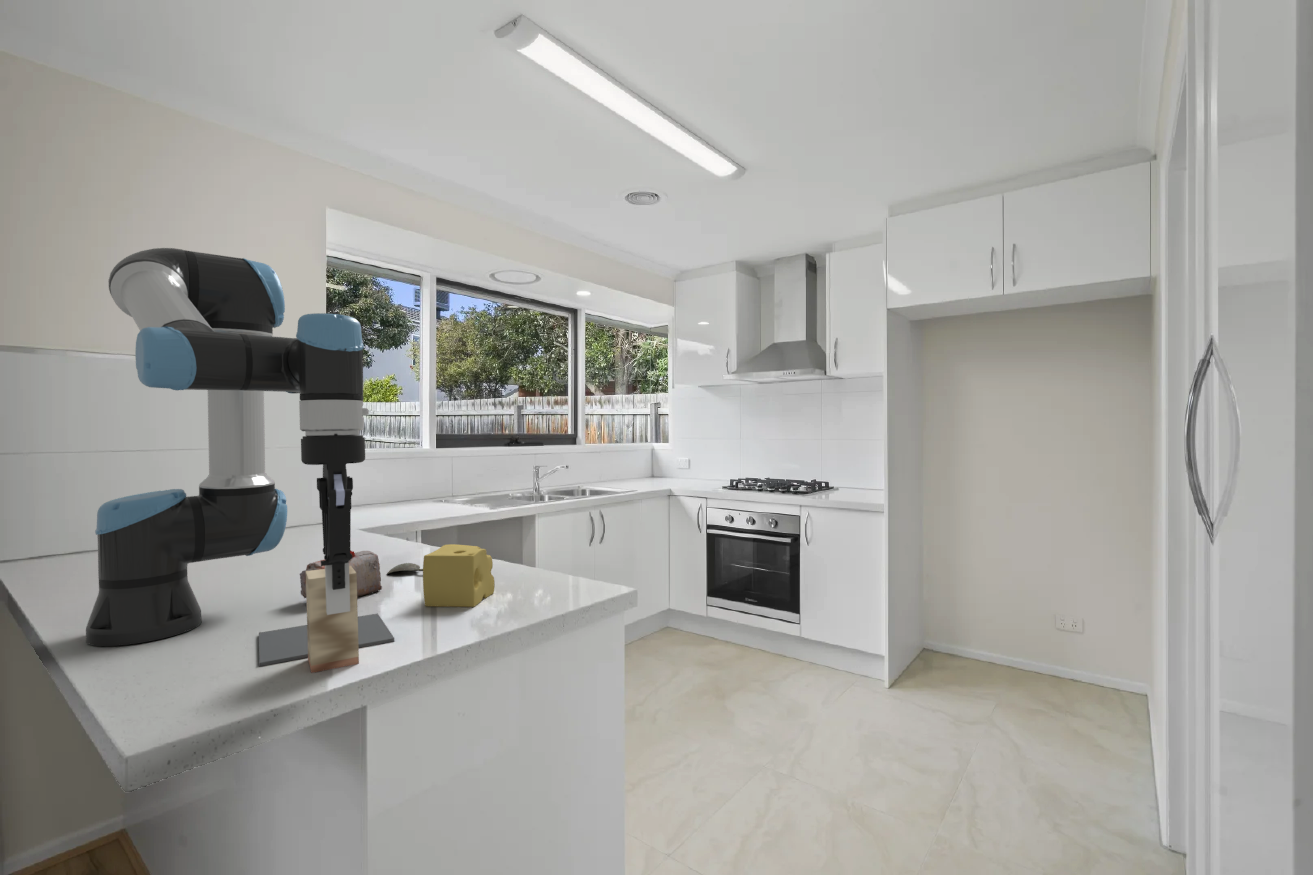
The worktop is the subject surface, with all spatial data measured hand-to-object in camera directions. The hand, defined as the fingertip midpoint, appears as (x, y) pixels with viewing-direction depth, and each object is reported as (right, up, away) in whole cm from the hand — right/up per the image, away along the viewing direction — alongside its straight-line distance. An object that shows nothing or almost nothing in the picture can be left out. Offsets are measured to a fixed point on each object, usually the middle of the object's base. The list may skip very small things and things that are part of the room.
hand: (338, 611), depth 84 cm
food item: (-20, -9, +42) cm, 48 cm away
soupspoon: (-10, -9, +60) cm, 61 cm away
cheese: (+4, -9, +39) cm, 40 cm away
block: (-5, -9, +8) cm, 13 cm away
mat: (-11, -9, +18) cm, 23 cm away
